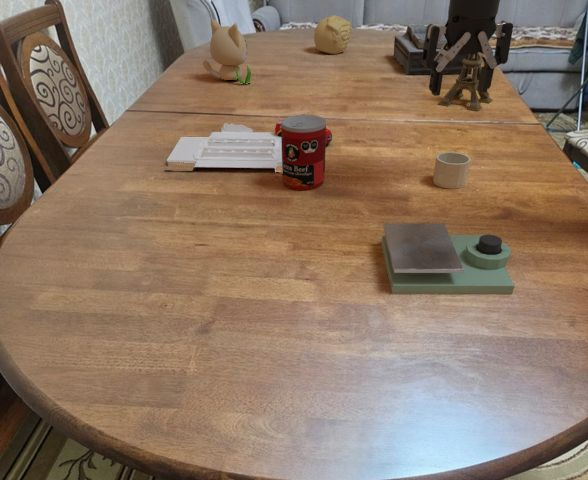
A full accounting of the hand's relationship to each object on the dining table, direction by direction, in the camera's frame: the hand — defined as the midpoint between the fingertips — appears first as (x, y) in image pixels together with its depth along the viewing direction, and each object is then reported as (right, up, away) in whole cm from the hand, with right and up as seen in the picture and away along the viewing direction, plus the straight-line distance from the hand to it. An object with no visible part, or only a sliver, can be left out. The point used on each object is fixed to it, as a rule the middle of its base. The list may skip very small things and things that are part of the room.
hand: (458, 93), depth 94 cm
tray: (-39, -3, +20) cm, 44 cm away
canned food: (-27, -13, +8) cm, 31 cm away
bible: (+14, +44, +76) cm, 89 cm away
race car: (-26, +1, +25) cm, 36 cm away
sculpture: (-16, +57, +92) cm, 109 cm away
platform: (-11, -30, -17) cm, 36 cm away
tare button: (-1, -30, -17) cm, 35 cm away
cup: (0, -13, +7) cm, 15 cm away
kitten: (-46, +34, +65) cm, 86 cm away
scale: (-7, -32, -16) cm, 36 cm away
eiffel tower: (+15, +19, +46) cm, 52 cm away
